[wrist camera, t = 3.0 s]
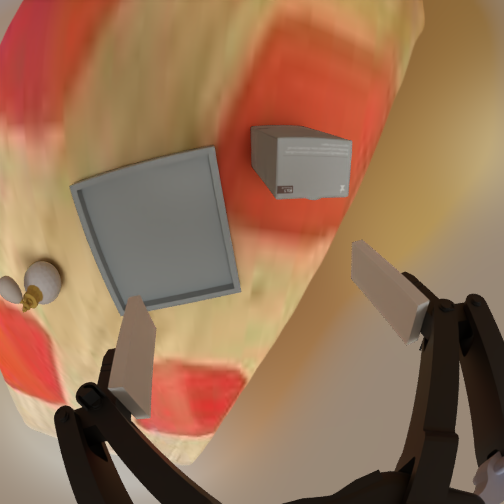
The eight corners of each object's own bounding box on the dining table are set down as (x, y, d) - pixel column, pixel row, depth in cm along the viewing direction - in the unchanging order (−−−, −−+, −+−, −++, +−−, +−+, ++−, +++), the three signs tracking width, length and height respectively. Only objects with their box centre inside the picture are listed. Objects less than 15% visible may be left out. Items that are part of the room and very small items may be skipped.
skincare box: (302, 125, 38) (357, 133, 25) (301, 170, 42) (353, 199, 28) (246, 125, 37) (277, 129, 23) (248, 172, 40) (277, 203, 27)
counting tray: (75, 182, 35) (69, 186, 33) (213, 144, 37) (214, 146, 35) (123, 307, 47) (120, 316, 44) (239, 283, 49) (241, 291, 47)
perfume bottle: (63, 295, 43) (41, 338, 33) (24, 276, 39) (-4, 314, 29) (68, 263, 41) (42, 304, 30) (26, 243, 37) (-7, 279, 27)
